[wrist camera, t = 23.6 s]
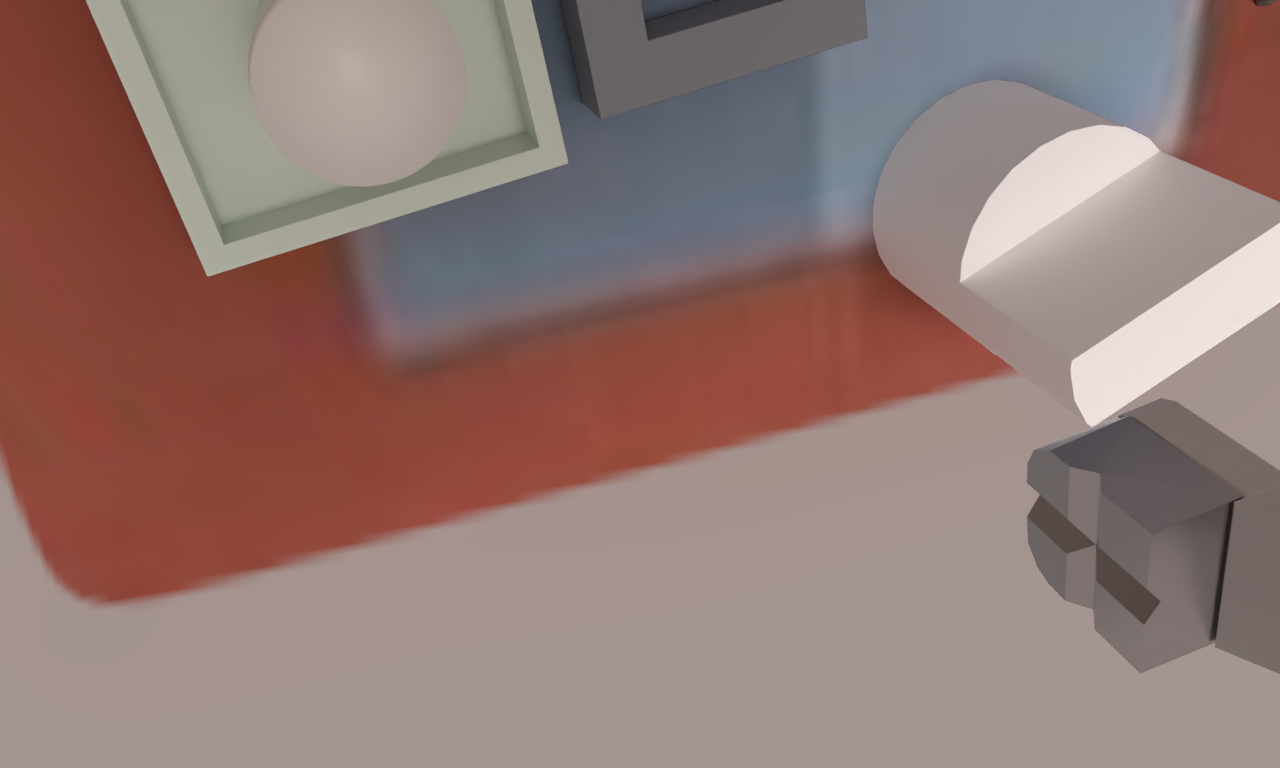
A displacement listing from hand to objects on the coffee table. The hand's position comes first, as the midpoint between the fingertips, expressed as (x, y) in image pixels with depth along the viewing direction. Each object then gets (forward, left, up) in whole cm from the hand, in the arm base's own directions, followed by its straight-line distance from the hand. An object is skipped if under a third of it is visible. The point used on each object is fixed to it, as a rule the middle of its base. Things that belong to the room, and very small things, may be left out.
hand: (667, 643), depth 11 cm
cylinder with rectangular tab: (-22, +13, -29) cm, 39 cm away
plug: (0, 0, -28) cm, 28 cm away
